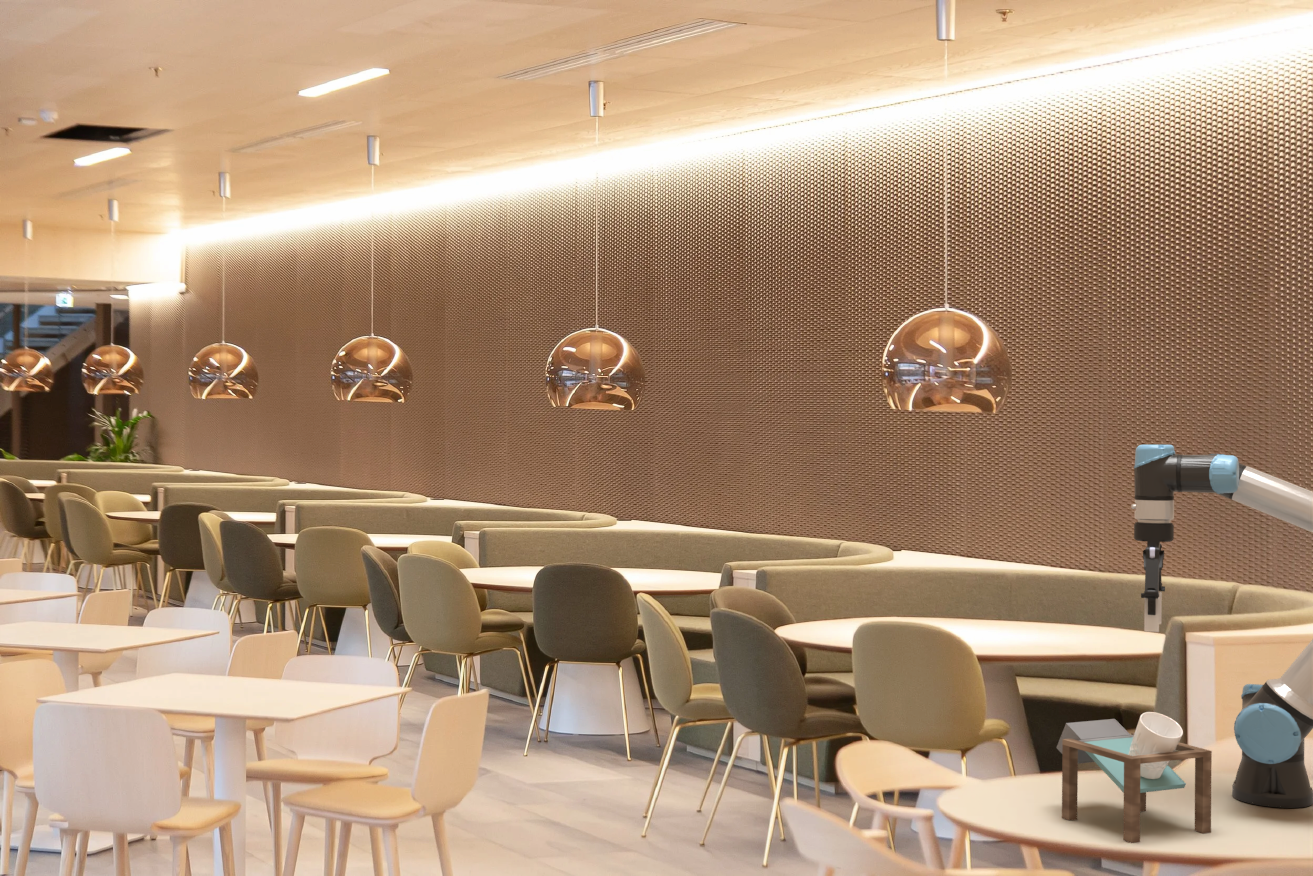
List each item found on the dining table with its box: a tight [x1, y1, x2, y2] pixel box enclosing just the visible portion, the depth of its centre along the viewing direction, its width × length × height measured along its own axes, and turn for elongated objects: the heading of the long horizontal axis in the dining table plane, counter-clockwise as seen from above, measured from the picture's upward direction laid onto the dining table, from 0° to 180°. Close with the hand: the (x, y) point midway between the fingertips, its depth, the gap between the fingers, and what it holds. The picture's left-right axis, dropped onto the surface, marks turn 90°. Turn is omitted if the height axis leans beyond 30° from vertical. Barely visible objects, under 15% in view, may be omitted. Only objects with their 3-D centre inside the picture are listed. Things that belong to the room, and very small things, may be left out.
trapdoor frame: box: [1061, 732, 1213, 844], centre depth 275 cm, size 19×19×15 cm
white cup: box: [1128, 711, 1184, 779], centre depth 273 cm, size 8×8×10 cm
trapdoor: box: [1055, 718, 1187, 794], centre depth 280 cm, size 14×20×7 cm
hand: (1153, 627), depth 294 cm, fingers open, 13 cm apart
